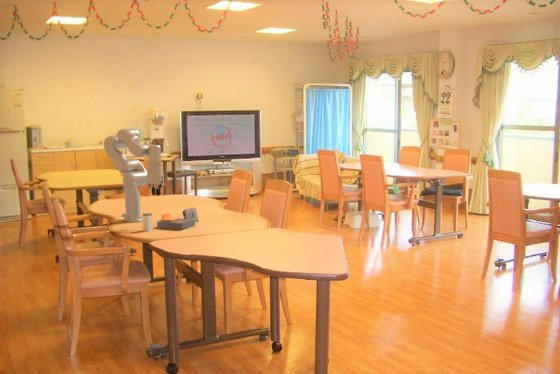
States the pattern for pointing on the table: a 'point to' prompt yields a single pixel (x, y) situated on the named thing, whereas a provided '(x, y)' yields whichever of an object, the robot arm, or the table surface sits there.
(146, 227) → the plug
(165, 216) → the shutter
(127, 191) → the robot arm
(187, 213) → the electrical switch
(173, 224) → the socket housing
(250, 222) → the table surface
